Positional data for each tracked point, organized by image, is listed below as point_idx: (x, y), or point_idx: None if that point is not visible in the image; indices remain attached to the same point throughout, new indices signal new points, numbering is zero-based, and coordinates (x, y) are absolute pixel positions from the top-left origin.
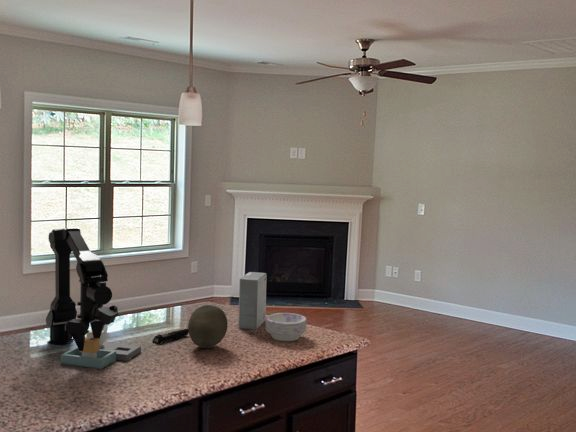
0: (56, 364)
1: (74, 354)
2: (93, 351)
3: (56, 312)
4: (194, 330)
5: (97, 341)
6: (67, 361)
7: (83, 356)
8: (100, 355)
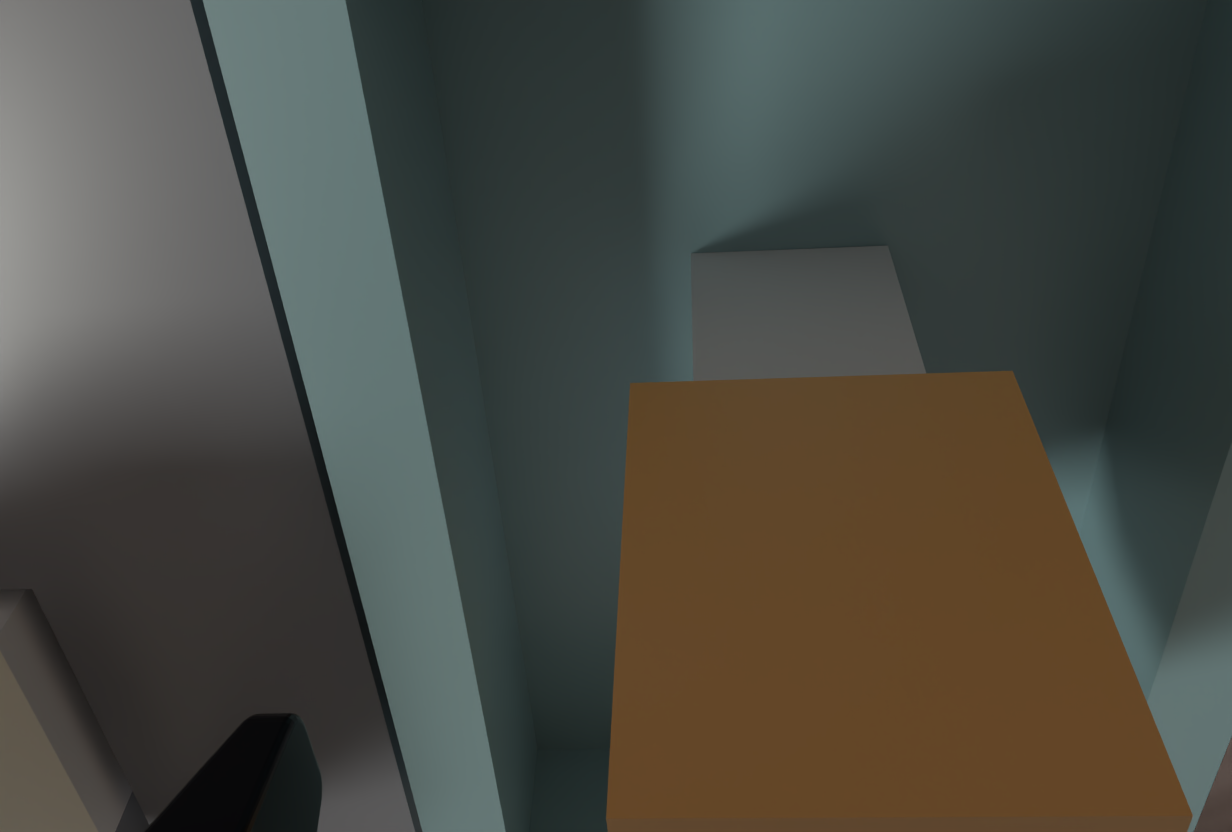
0: None
1: None
2: (1023, 446)
3: None
4: None
5: (815, 711)
6: None
7: (1224, 538)
8: (451, 303)
